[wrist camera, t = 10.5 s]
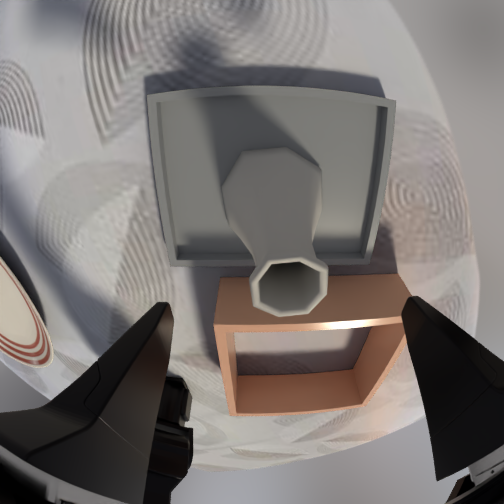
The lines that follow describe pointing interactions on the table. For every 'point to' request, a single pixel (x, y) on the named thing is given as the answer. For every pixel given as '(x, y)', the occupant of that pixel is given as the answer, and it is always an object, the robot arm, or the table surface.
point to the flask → (278, 227)
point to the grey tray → (263, 137)
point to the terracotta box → (320, 318)
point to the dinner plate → (21, 324)
